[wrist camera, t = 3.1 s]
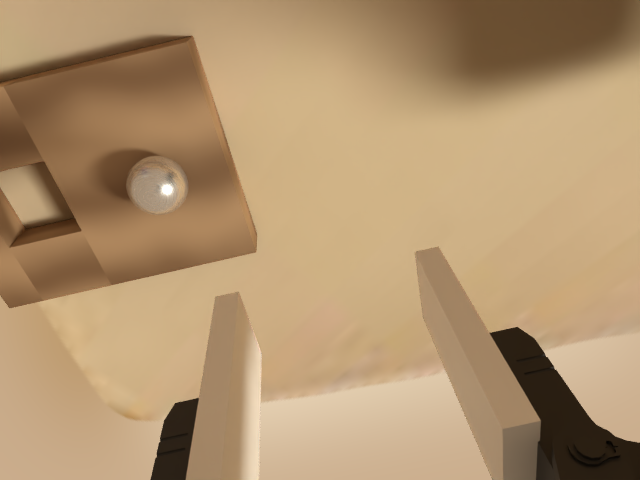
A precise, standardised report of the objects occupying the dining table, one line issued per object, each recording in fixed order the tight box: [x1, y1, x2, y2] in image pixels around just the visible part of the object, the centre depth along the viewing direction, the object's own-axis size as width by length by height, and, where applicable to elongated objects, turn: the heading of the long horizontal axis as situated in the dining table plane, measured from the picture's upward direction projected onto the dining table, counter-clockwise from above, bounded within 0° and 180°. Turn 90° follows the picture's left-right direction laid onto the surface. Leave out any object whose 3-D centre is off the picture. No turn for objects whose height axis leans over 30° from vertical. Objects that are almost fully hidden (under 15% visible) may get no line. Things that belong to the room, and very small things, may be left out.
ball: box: [126, 156, 188, 215], centre depth 28 cm, size 4×4×4 cm
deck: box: [0, 36, 257, 308], centre depth 31 cm, size 14×18×2 cm
